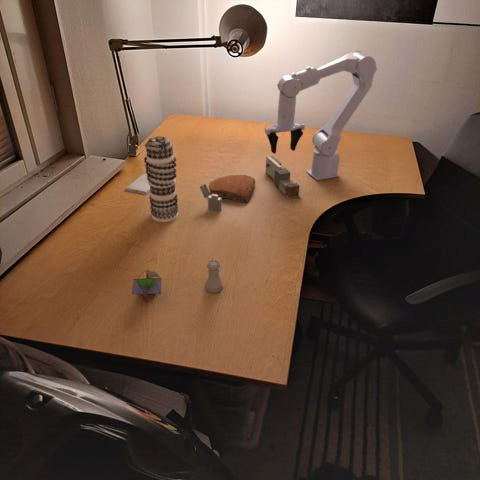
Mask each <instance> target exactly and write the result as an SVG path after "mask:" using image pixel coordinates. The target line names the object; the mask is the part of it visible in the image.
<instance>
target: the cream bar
mask: <svg viewBox="0 0 480 480" xmlns="http://www.w3.org/2000/svg"><path fill="white" fill-rule="evenodd" d="M270 156H271V155H267V156H266V160H265V173H266V174H267V175H269V177H270V178H272V180H274V177H275V170H276V169H282V168H283V167H282V165H281V166H280V165H279V164H278V163H277V162H276V161H275V160H273V159H272V158H271V157H270Z"/></svg>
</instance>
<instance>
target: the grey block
mask: <svg viewBox="0 0 480 480" xmlns="http://www.w3.org/2000/svg"><path fill="white" fill-rule="evenodd" d="M284 179H291V172H290V171H289V170H288V168H286V167H284V168H283V167H282V169H276V170H275V177H274V179H273V182H274V184H275V185H276V186H277V187H278V188H279V185H280V180H284Z"/></svg>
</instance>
